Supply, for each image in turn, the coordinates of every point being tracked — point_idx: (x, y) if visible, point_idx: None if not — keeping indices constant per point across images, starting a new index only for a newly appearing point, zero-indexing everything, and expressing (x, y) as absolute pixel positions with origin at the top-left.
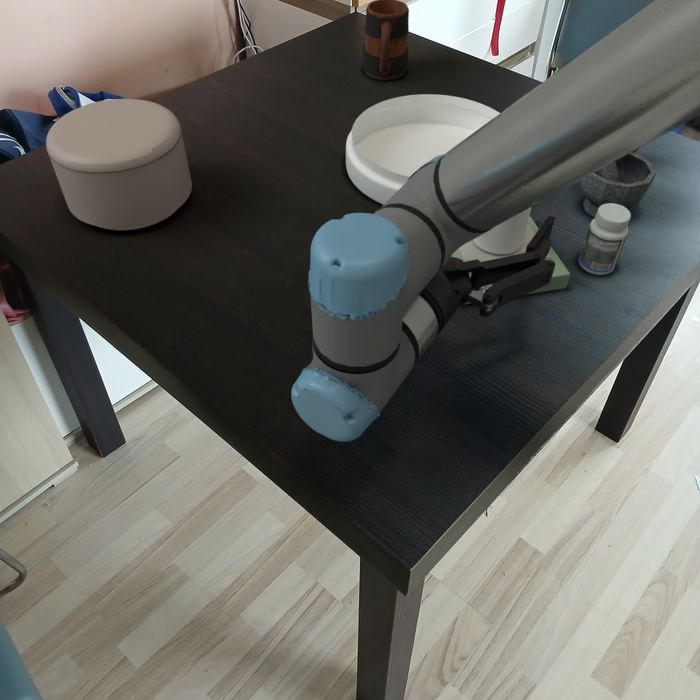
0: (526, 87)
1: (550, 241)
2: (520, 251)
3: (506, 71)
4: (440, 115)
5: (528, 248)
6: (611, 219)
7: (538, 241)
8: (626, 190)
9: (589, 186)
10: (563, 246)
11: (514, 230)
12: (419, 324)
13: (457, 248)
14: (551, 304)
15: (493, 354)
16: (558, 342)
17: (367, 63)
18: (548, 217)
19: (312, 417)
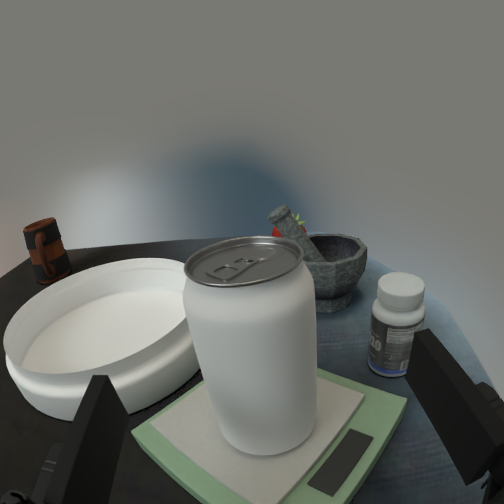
0: (172, 244)
1: (485, 385)
2: (318, 416)
3: (151, 242)
4: (104, 287)
5: (498, 448)
6: (412, 292)
7: (491, 408)
8: (357, 263)
9: (313, 279)
10: (336, 364)
11: (310, 398)
12: None
13: None
14: (414, 456)
15: None
16: (479, 498)
17: (36, 273)
18: (420, 337)
19: None
